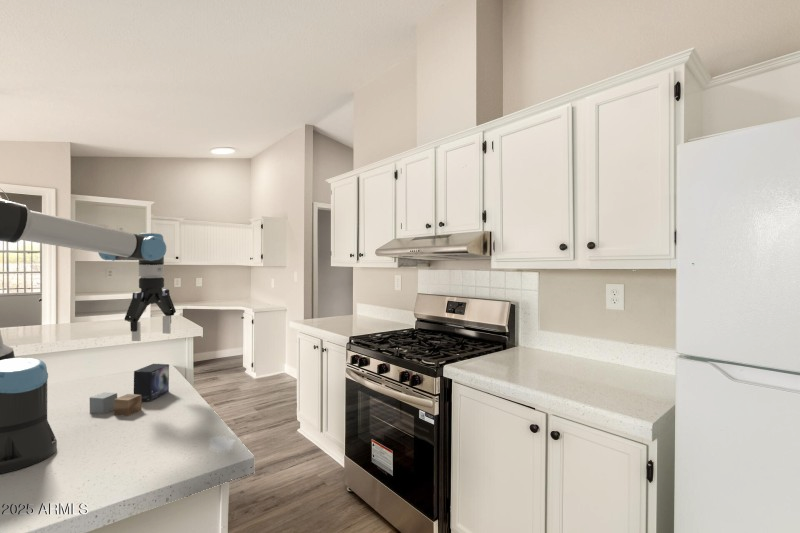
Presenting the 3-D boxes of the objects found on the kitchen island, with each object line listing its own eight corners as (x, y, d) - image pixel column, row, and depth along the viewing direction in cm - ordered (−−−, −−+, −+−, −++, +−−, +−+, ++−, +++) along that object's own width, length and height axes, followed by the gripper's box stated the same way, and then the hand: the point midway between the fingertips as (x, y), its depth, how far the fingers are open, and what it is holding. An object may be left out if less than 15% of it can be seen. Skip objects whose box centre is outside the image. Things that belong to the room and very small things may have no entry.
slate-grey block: (103, 414, 122) (103, 398, 122) (89, 413, 123) (89, 397, 123) (117, 408, 127) (117, 393, 127) (104, 407, 128) (104, 392, 128)
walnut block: (128, 416, 121) (128, 400, 121) (114, 415, 121) (114, 399, 121) (141, 410, 126) (141, 394, 125) (128, 409, 126) (127, 393, 126)
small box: (151, 402, 133) (151, 371, 132) (132, 401, 133) (132, 371, 133) (170, 391, 143) (170, 363, 143) (152, 391, 143) (152, 363, 143)
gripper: (131, 278, 125) (131, 344, 125) (186, 275, 149) (186, 330, 150) (110, 278, 126) (111, 344, 126) (168, 275, 150) (169, 330, 151)
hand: (152, 337), depth 138 cm, fingers open, 13 cm apart
